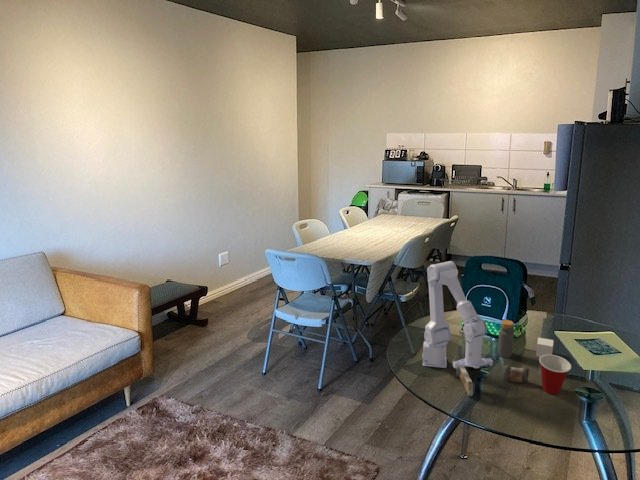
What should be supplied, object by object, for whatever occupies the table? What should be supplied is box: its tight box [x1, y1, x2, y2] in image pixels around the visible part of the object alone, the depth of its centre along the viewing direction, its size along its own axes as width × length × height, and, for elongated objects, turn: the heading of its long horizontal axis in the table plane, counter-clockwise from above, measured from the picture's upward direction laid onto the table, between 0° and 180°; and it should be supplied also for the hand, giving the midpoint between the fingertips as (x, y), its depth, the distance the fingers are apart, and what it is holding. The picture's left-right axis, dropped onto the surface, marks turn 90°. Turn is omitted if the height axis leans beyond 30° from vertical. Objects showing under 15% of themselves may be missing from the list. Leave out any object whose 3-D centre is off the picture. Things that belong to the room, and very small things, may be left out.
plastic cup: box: [538, 354, 572, 395], centre depth 182 cm, size 11×11×12 cm
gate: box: [458, 367, 474, 397], centre depth 187 cm, size 13×2×5 cm, turn 0°
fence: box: [502, 364, 530, 385], centre depth 190 cm, size 9×2×6 cm, turn 76°
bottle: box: [497, 319, 515, 359], centre depth 207 cm, size 6×6×15 cm
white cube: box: [535, 337, 554, 358], centre depth 208 cm, size 6×6×6 cm
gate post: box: [455, 367, 460, 378], centre depth 195 cm, size 3×3×6 cm
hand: (471, 382), depth 186 cm, fingers closed
